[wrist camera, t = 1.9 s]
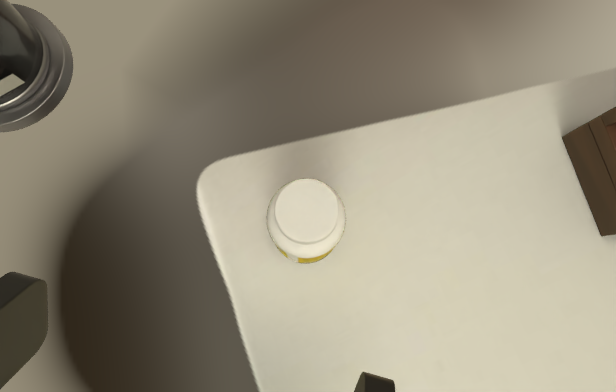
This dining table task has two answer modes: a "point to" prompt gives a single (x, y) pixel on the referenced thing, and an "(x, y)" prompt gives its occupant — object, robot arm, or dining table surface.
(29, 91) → the robot arm
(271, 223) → the supplement bottle
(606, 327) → the dining table surface
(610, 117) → the shelf
